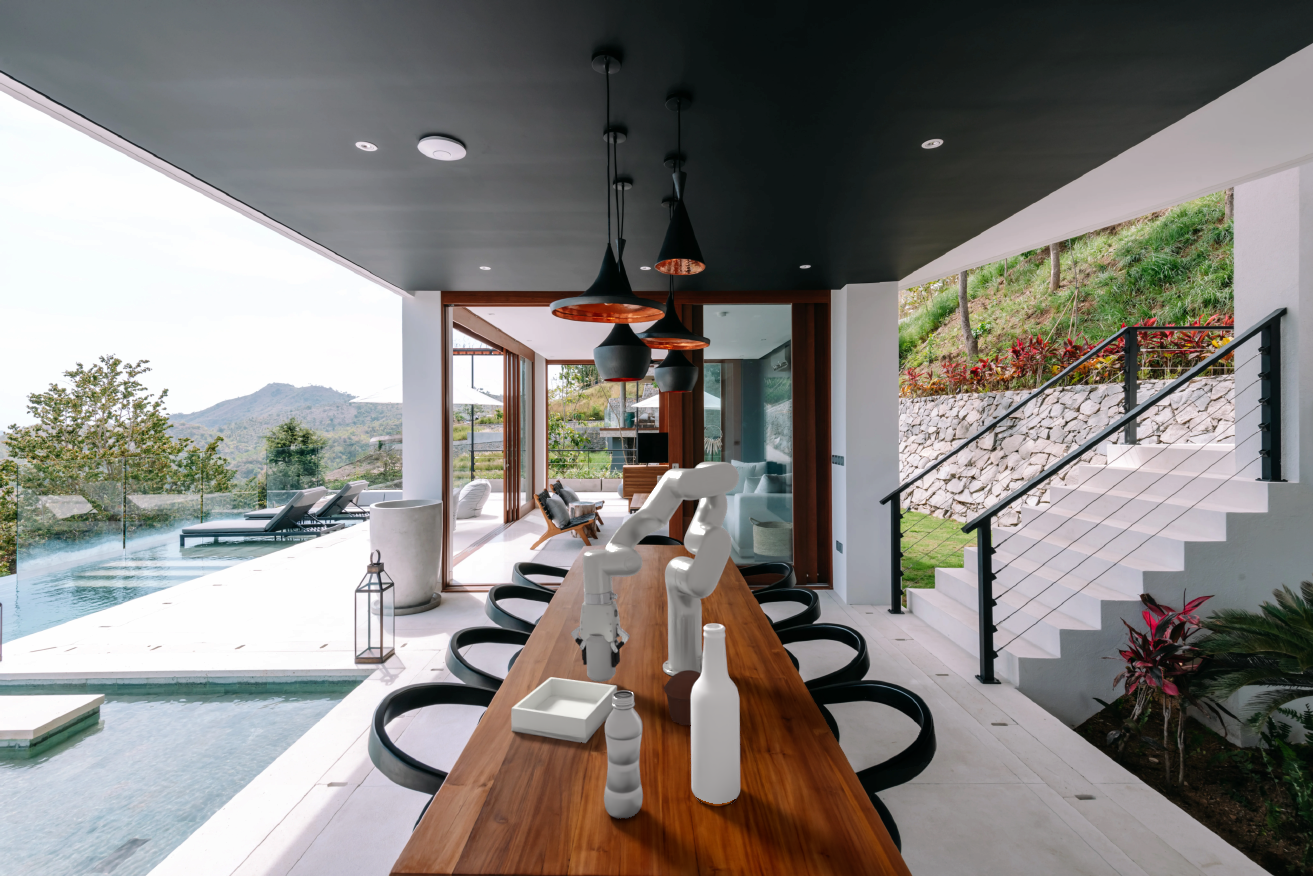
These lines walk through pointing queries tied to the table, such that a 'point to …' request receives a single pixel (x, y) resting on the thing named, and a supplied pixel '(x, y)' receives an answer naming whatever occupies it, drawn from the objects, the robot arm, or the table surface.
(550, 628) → the table surface
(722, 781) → the alcohol
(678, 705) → the muffin
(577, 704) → the tote
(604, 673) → the can
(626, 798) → the plastic bottle
